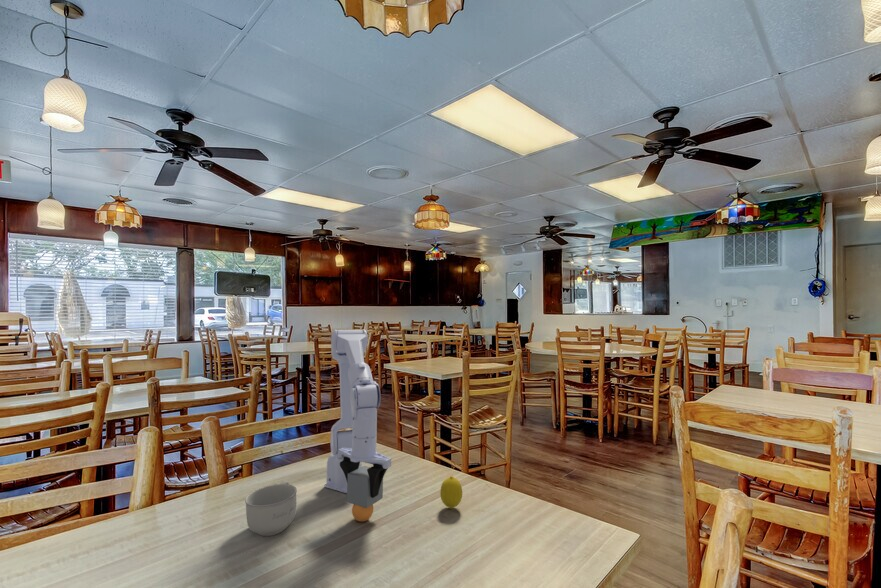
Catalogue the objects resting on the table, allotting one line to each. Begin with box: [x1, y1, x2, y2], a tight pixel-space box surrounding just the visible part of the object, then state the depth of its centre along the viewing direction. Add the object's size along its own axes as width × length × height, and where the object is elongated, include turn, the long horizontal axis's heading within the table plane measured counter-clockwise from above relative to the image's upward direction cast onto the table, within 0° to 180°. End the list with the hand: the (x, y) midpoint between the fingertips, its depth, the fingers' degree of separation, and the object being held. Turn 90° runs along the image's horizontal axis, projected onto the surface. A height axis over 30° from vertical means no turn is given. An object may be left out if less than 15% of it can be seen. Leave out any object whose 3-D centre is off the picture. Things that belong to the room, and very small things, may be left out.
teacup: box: [244, 480, 298, 537], centre depth 94 cm, size 14×11×8 cm
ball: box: [351, 504, 374, 522], centre depth 96 cm, size 5×5×5 cm
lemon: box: [439, 475, 463, 510], centre depth 102 cm, size 6×6×8 cm
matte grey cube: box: [346, 465, 384, 508], centre depth 97 cm, size 6×6×7 cm
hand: (363, 492), depth 97 cm, fingers closed on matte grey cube, 6 cm apart
